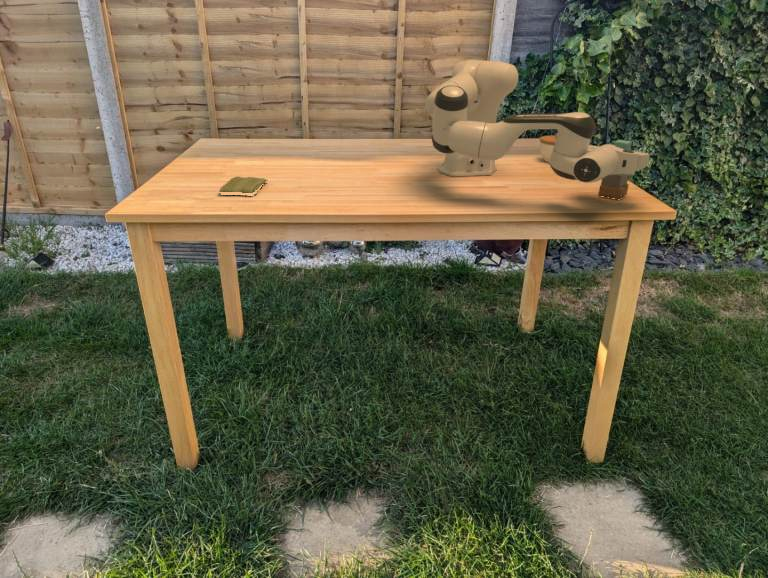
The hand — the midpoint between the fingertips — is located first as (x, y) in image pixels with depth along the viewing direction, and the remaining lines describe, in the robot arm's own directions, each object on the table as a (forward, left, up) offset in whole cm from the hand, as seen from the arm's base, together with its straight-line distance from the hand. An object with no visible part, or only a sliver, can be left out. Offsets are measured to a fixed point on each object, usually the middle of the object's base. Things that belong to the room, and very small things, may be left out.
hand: (621, 151), depth 175 cm
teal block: (-1, 0, -7) cm, 7 cm away
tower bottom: (-1, 0, -15) cm, 15 cm away
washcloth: (-114, +51, -15) cm, 126 cm away
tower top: (-1, 0, -11) cm, 11 cm away
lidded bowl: (+9, +46, -15) cm, 49 cm away
